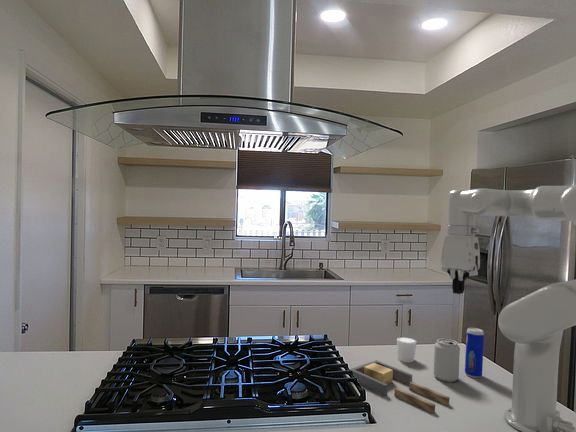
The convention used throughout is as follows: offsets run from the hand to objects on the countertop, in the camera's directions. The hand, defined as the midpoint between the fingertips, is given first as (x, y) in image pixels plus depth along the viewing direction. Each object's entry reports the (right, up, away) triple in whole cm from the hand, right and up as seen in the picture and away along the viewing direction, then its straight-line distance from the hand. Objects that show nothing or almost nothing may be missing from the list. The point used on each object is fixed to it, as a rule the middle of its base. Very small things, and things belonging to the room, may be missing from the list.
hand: (458, 292), depth 118 cm
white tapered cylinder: (-8, -29, +24) cm, 38 cm away
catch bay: (-22, -28, +4) cm, 36 cm away
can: (0, -29, +9) cm, 31 cm away
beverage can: (+10, -30, +12) cm, 33 cm away
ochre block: (-23, -28, +5) cm, 37 cm away
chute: (-13, -29, -7) cm, 32 cm away
